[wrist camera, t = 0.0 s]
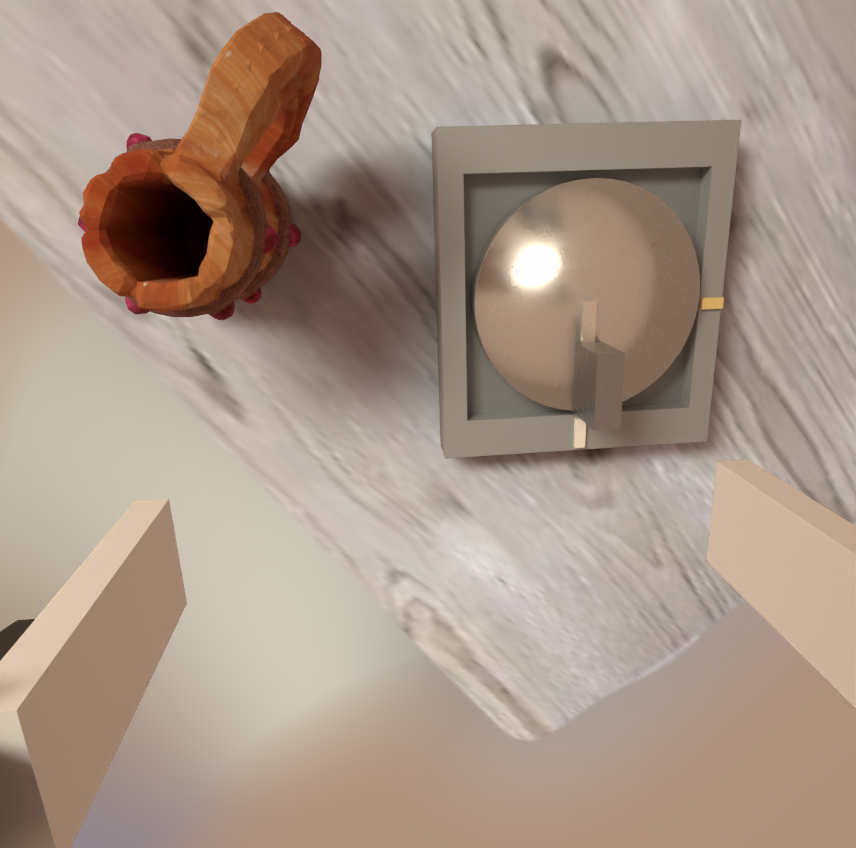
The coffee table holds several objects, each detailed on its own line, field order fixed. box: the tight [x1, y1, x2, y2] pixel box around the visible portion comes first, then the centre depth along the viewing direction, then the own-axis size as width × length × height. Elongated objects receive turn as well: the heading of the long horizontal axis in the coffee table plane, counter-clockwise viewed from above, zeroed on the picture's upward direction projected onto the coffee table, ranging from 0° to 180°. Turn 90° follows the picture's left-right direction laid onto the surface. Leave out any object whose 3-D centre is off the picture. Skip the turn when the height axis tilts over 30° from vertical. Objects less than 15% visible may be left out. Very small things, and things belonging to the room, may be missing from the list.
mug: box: [78, 12, 322, 320], centre depth 31 cm, size 15×8×15 cm, turn 143°
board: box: [432, 120, 741, 458], centre depth 40 cm, size 20×18×3 cm
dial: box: [471, 178, 700, 431], centre depth 38 cm, size 14×14×6 cm
